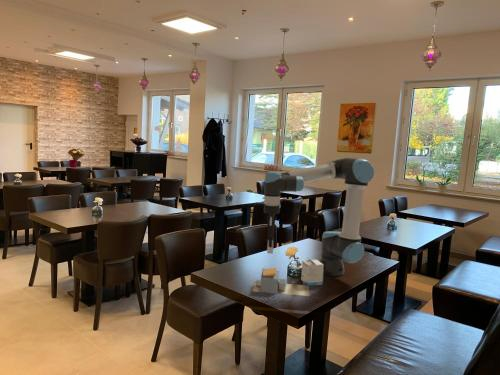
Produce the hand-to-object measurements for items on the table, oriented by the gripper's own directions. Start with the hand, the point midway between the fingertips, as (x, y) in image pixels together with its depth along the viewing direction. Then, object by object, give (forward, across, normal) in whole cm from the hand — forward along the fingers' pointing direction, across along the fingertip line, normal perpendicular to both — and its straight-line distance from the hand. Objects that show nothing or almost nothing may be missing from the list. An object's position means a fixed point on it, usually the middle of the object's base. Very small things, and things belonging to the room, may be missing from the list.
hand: (270, 252), depth 179 cm
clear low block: (+17, 0, +1) cm, 17 cm away
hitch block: (+17, 0, 0) cm, 17 cm away
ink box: (+19, -12, +21) cm, 31 cm away
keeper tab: (+10, 0, 0) cm, 10 cm away
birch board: (+18, 0, +6) cm, 19 cm away
